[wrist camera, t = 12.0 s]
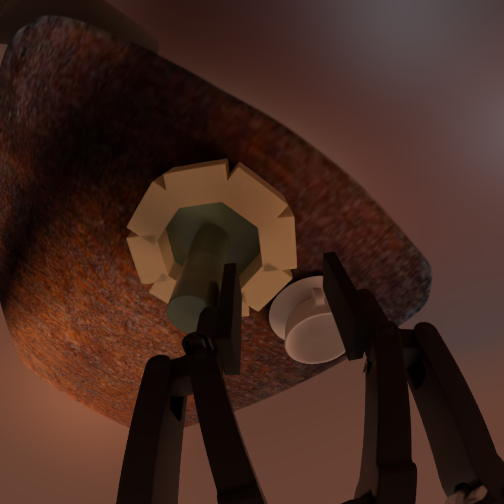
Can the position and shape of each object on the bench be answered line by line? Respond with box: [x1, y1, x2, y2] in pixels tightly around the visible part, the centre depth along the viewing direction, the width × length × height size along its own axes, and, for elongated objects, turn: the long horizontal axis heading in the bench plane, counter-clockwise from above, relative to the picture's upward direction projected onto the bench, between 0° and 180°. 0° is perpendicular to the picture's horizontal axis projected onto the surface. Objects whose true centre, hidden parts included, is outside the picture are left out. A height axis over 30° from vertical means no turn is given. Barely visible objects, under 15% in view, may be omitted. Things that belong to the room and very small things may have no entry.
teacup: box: [269, 276, 345, 364], centre depth 27 cm, size 10×10×5 cm
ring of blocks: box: [126, 159, 297, 316], centre depth 23 cm, size 14×14×3 cm
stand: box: [166, 202, 261, 333], centre depth 20 cm, size 9×9×12 cm
